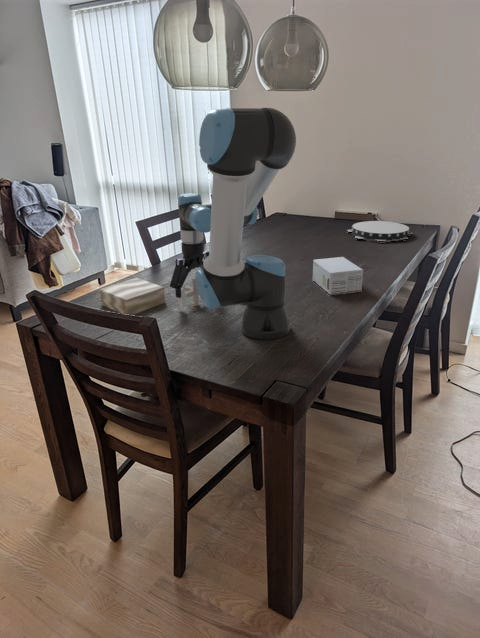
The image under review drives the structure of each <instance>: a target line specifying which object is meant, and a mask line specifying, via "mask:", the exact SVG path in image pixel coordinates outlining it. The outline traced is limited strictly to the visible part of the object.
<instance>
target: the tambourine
mask: <svg viewBox="0 0 480 638" xmlns="http://www.w3.org/2000/svg"><path fill="white" fill-rule="evenodd" d="M347 231H348V232H352V233H351V235H352V234H353V235H355V238H358V239H364V238H367V239H375V240H377V241H386V240H392V239H408V240H409V235H408V234H412V235H413V232H412V231H410V227H409V226H407V225H405V224H402V223H399V222H394V221H385V220H382V221H381V220H369V221H367V220H366V221H359V222H356V223H353V224H352V226H351V229H347V230H346V232H347ZM348 232H347V233H348ZM409 232H411V233H409ZM407 236H408V237H407ZM355 238H354V239H355Z"/></svg>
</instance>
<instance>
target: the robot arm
mask: <svg viewBox="0 0 480 638" xmlns="http://www.w3.org/2000/svg"><path fill="white" fill-rule="evenodd" d="M295 131H296V130H295V127H294V125H293V124H292V121H291V119H290V118H288V116H287V115H285V114H284V113H283V112H281V111H280V110H278V109H276V108H271V107H260V108H259V107H257V108H255V107H253V108H250V107H246V108H245V107H243V108H240V107H239V108H232V107H231V108H229V107H225V108H220V109H212V110H211V111H209V112H207V114H206V115H205V116H204V118H203V121H202V123H201V126H200V132H199V138H198V142H199V143H198V145H199V154H200V157H201V160H202V161H203V163H205V164H206V165H207V166H206V168H207V170H208V171H209V172H210V173H211V174H212V187H211V188H212V191H211V203H209V204H203V201H202V197H201V194H199V193H196V192H194V193H193V192H192V193H190V192H188V193H182V194H179V195H178V197H177V201H178V202H177V208H178V215H179V219H178V220H179V230H180V241H181V243H180V245H181V246H180V247H181V253H182V255H183V256H182V258H175V267H174V270H173V273H172V277H171V279H170V280H171V281H170V284H169V287H170V288H172V289H175V297H176V298H177V305H178V306H180V307H183V308H185V306H186V305H185V297H184V293H185V290H184V287H183V286H184V284H185V281H186V279H187V278H188V275H189V273H191V271H192V270H194V269H195V270H196V268H199V269H197V270H196V271H195V278H196V284H197V289H198V292H199V295H198V296H199V298H200V300H201V302H202V304H203V306H204V307H206V308H207V309H218V308H219V309H222V308H225V307H230V306H236V305H237V306H238V305H241V304H242V305H243V304H246V307H245V309H244V310H245V311H244V314H243V317H242V320H241V325H240V327H241V329H240V330H241V332H242V333H243V335H245V336H246V337H248V338H252V339H256V340H262V341H263V340H264V341H265V340H268V341H269V340H275V339H280V338H283V337H285V336H287V335H288V334H289V333H290V331H291V330H290V329H291V328H290V327H291V323H290V322H291V321H290V320H289V318H288V313H287V310H286V306H285V303H286V301H285V300H286V299H285V297H286V277H287V274H286V264H285V262H284V260H282V259H280V258H278V257H275V256H271V255H268V254H267V255H266V254H250V255H248V256H246V257H245V260H242V258H241V251H242V241H243V240H242V239H243V230H244V226H248V225H254V224H255V223H256V222H257V220H258V215H259V210H258V207H257V206H258V204H259V203H260V201H261V199H262V198H263V196H264V195H265V194H266V192H267V190H268V189H269V187H270V185H272V184H271V183H273V181H274V179H275V177H276V176H277V174H278V172H279V171H280V170H283V169H284V168H285V167H287V165H289V163H290V161H291V160H292V157H293V156H294V154H295V150H296V144H297V136H296V132H295ZM204 233H205V234H206V233H209V251H208V250H205V246H204V245H205V244H204V243H205V242H204ZM244 261H245V262H244Z"/></svg>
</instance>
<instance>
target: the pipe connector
mask: <svg viewBox="0 0 480 638" xmlns="http://www.w3.org/2000/svg"><path fill="white" fill-rule="evenodd" d="M191 282H192V284H191V285H192V286H189V285H188V286H187V285H185V286H184V287H183V288H184V299H188V298H190V297H193V306H195V307H196V306H199V305H200V303H199V302H200V300H199V298H200V297H199V296H200V295H199V292H198V289H197V284H196V278H195V277H193V276H192V277H191Z"/></svg>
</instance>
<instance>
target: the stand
mask: <svg viewBox="0 0 480 638" xmlns="http://www.w3.org/2000/svg"><path fill="white" fill-rule="evenodd" d="M99 293H100V301H101V305H102V306H103V307H106V308H108V309H110V310H113V311H115V312H116V313H120V314H121V315H124V314H129V315H131V316H133V315H136V314H138V313H141V312H144V311H146V310H149V309H152V308H155V307H158V306H160V305H163V304H165V303H166V297H165V287H164V286H162V285H159V284H155V283H153V282H150V281H147V280H144V279H142V278H139V277H135V278H131V279H128V280H125V281H121V282H119V283H115V284H112V285H109V286H105V287H102V288H100V289H99Z"/></svg>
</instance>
